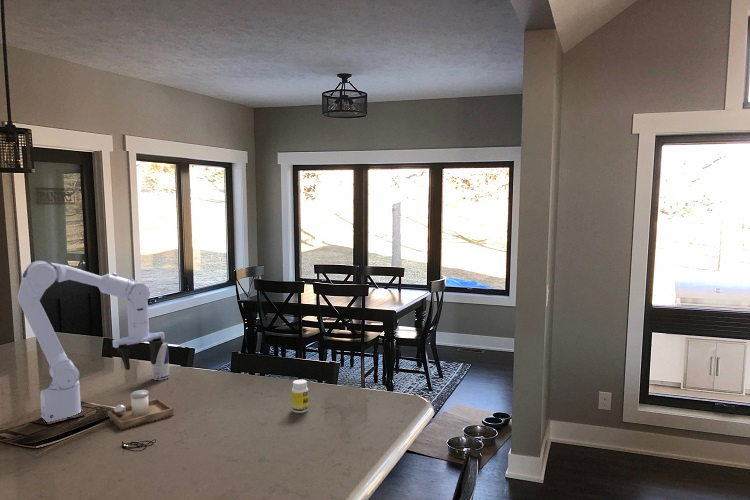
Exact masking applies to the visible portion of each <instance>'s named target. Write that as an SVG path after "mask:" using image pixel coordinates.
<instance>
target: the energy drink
mask: <svg viewBox="0 0 750 500" xmlns="http://www.w3.org/2000/svg"><path fill="white" fill-rule="evenodd" d="M169 356H170V355H169V344H168V342H167V341H163V343H162V346H161V348H160V350H159V352H158V355H157V359H156V364H154V365H153V364H152V363H151V374H152V375H151V377H152V380H153V379H154V381H156V380H161V381H164V380H163V379H165V380H167V378H168V379H169V378H170V363H169V362H170V361H169V360H170V358H169Z"/></svg>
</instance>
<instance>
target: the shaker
mask: <svg viewBox="0 0 750 500" xmlns="http://www.w3.org/2000/svg"><path fill="white" fill-rule="evenodd" d="M149 395H150V394H149V390H147V389H137V390H134V391H132V392H131V393H130V400H131V401H130V402H131V404H130V405H131V407H132V416H134V417H140V416H145V415H147V414H148V413H149V402H148V401H149Z"/></svg>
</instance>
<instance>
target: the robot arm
mask: <svg viewBox="0 0 750 500" xmlns="http://www.w3.org/2000/svg"><path fill="white" fill-rule="evenodd" d="M69 280H70V281H74V282H76V283H77V282H78V283H81V284H86V285H90V286H94V287H97V288H98V289H99V292H100V293H102V294H106V295H109V296H114V297H116V298H121V299H126V301H127V306H126V308H127V309H126V310H127V326H128V327H127V330H128V331H127V332H128V336H125V337H121V338H117V339H113V340H112V348H115V349H116V350H117V352H118V353H119V355H120V357H121V359H122V362H123V365H124V369H125V370H127V371H129V370H130V368H131V365H130V364H131V363H130V353H131V352H130V351H131V349H130V348H129V346H130V345H136V344H139V343H147V342H148V344H149V350H150V364H151V365H152V364H153V365H154V364H156V359H157V355H158V352H159V350H160V348H161V346H162V343H163V342H164V341H163V340H165V339H166V337H165V335H166V334H165V332H163V331H159V332H150V319H149V317H150V315H149V304H148V300H149V298H150V297H151V291H150V290H149V287H148V286H147V285H146V284H144V283H142V282H139V281H137V280H135V279H134V278H132V277H131V278H129V279H128V278H126V277H122V276H119V273H116V272H112V273H106V274H103V275H99V274H95V273H93V272H89V271H85V270H83V269H79V268H76V267H74V266H73V267H72V266H70V265H67V264H62V263H55V262H50V263H49V262H47V261H44V260H35V261H32V262H31V263H30V264H28V266H27V267H26V269H25V270H24V271H23V272H22V275H21V281H20V284H19V289H18V293H17V302H18V303H19V306H20V308H21V310H22V312H23V314H24V315H25V318H26V319H27V322H28V324H29V326H30V328H31V330H32V332H33V334H34V336H35V338H36V340H37V342H38V343H39V346H40V348H41V351H42V352H43V354H44V357H45V359H46V360H47V362H48V366H49V368H48V372H49V373H48V374H49V375H50V377H51V378H52V380H51V382H50V384H49V387H48V388H45V389H42V390H40V396H39V397H40V398H39V399H40V411H41V412H40V413H41V416H40V418H41V417H42V418H43V419H44V420H45V421H46V422H50V421H55V420H58V419H62V418H67V417H71V416H73V415H76V414H78V413H80V412H81V410H82V409H81V408H82V407H81V406H82V405H81V390H80V389H81V387H80V380H79V378H80V371H79V370H78V368H77V367H76V366H75V364H74V362H73V360H71V359H69V358H68V356H67V354H66V353H65V350H64V348H63V346H62V345H61V342H60V339H59V338H58V336H57V334H56V332H55V330H54V327H53V325H52V323H51V321H50V319H49V317H48V315H47V313H46V311H45V309H44V307H43V305H42V303H41V298H42V297H43V295H44V294H45V292H46V290H47V289H48V288H50V287H51V286H52V285H53V284H54V283H55V281H56V282H57V283H62V282H65V281H69ZM52 415H53V417H51V416H52ZM42 418H41V419H42ZM43 419H42V420H43ZM44 420H43V421H44ZM45 421H44V422H45Z"/></svg>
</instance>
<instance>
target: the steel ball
mask: <svg viewBox="0 0 750 500" xmlns="http://www.w3.org/2000/svg"><path fill="white" fill-rule="evenodd" d="M113 410H114V413H115V414H116V415H118V416H121V415H123V414H124V413H125V412H126V406H125V405H124V404H117V405H116V406H115V407H114V409H113Z"/></svg>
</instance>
